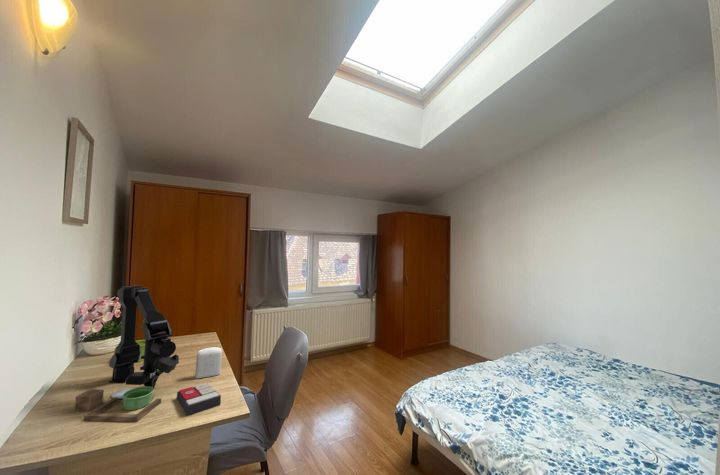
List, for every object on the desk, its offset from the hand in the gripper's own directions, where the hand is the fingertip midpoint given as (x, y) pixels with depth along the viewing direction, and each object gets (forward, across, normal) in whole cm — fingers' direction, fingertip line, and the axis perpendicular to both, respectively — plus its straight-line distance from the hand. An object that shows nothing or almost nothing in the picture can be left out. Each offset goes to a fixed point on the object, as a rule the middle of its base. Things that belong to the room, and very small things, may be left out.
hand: (150, 392), depth 107 cm
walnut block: (+1, -9, +15) cm, 17 cm away
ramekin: (+1, -6, 0) cm, 7 cm away
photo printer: (+2, +18, -13) cm, 22 cm away
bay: (+1, -11, +1) cm, 11 cm away
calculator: (+2, -4, -20) cm, 21 cm away
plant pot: (+2, +32, +28) cm, 43 cm away
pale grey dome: (+1, 0, +10) cm, 10 cm away
